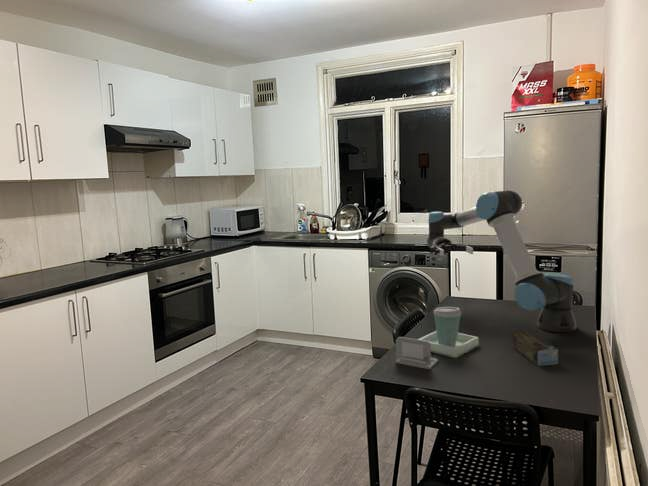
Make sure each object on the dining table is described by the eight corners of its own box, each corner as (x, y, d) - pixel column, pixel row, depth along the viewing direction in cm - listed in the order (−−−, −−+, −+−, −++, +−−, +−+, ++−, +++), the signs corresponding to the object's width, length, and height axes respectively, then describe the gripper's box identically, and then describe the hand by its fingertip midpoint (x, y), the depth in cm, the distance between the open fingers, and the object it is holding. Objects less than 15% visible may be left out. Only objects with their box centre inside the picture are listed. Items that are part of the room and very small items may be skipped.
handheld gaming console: (438, 361, 181) (438, 334, 179) (429, 370, 173) (429, 342, 172) (405, 355, 188) (405, 329, 187) (395, 363, 180) (394, 337, 179)
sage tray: (478, 345, 194) (478, 337, 194) (455, 358, 182) (455, 349, 182) (440, 336, 206) (440, 328, 206) (417, 348, 194) (417, 339, 194)
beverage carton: (537, 366, 173) (537, 348, 172) (511, 347, 192) (511, 331, 191) (558, 365, 173) (559, 347, 172) (531, 346, 192) (531, 330, 191)
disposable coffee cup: (427, 345, 195) (427, 308, 193) (444, 338, 202) (444, 302, 200) (450, 351, 187) (450, 313, 185) (466, 344, 194) (467, 307, 192)
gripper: (467, 251, 245) (484, 258, 224) (417, 254, 243) (430, 261, 222) (467, 236, 244) (484, 242, 223) (417, 239, 242) (430, 245, 221)
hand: (457, 251), depth 223 cm, fingers open, 13 cm apart
